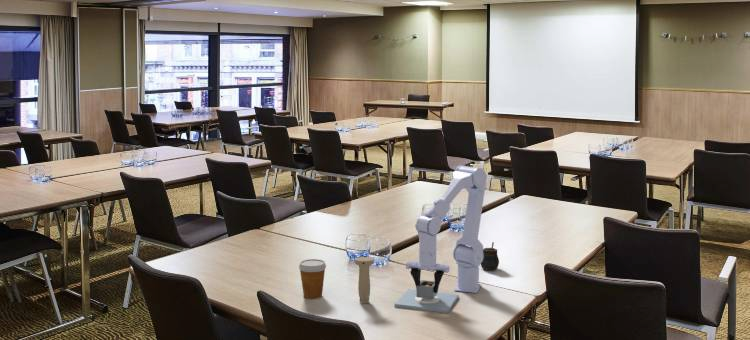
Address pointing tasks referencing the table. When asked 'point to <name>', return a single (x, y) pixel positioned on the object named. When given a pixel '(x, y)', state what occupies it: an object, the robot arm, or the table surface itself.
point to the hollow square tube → (426, 289)
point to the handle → (364, 277)
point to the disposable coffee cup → (312, 277)
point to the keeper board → (427, 301)
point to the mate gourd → (490, 258)
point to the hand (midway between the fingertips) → (427, 290)
